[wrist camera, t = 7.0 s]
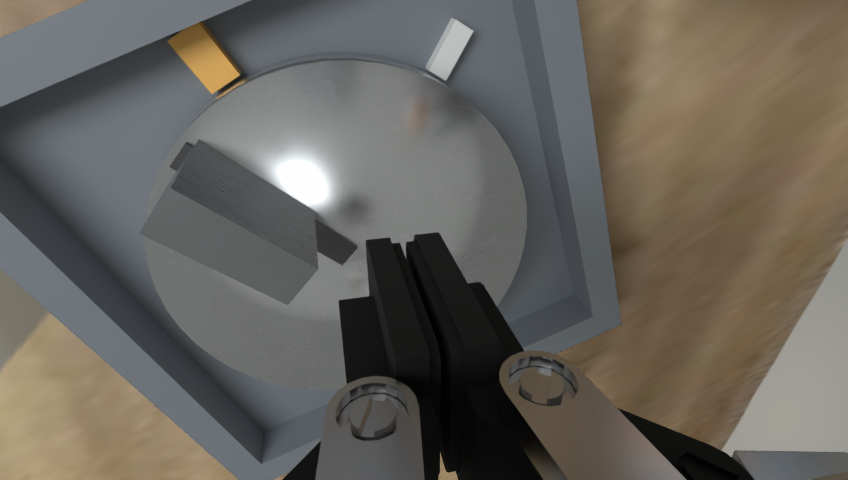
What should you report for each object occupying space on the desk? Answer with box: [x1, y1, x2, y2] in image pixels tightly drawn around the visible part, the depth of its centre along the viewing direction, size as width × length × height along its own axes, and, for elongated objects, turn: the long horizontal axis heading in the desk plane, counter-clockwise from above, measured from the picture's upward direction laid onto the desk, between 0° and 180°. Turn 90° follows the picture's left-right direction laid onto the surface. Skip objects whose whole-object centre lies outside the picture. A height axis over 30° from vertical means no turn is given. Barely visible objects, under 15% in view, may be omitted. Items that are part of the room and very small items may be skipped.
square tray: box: [0, 0, 621, 480], centre depth 20 cm, size 22×22×3 cm
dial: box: [139, 52, 527, 390], centre depth 18 cm, size 15×15×6 cm
